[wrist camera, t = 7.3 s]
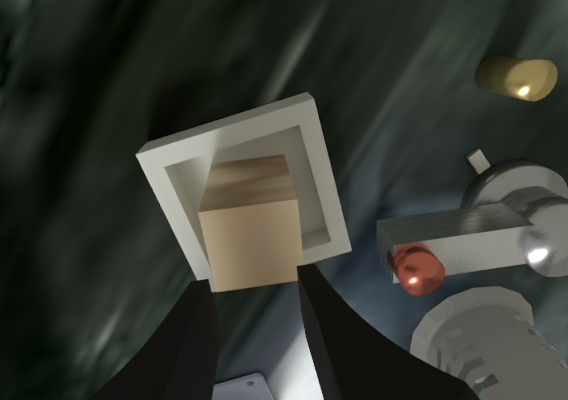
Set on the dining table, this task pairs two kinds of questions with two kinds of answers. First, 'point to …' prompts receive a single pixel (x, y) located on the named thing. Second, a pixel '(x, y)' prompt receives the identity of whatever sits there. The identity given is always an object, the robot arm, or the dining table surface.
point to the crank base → (515, 173)
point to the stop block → (251, 223)
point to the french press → (491, 346)
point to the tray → (245, 145)
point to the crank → (476, 240)
